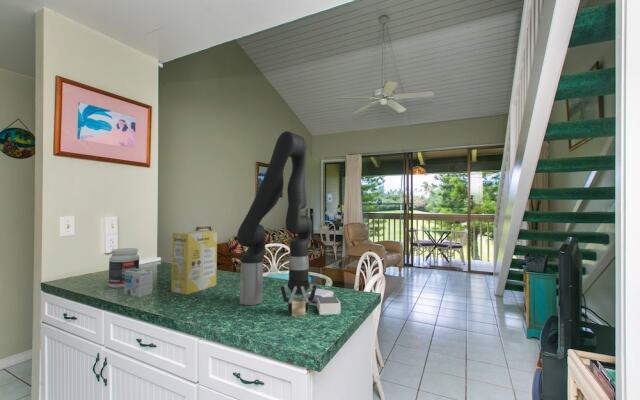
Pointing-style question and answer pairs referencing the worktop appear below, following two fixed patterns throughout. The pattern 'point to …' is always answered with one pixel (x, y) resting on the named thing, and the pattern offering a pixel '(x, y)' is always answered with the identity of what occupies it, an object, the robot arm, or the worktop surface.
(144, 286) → the light bulb box
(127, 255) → the supplement tub
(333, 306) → the plinth
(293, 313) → the wooden cube
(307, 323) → the worktop surface
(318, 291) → the charger
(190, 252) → the yellow carton with handle
